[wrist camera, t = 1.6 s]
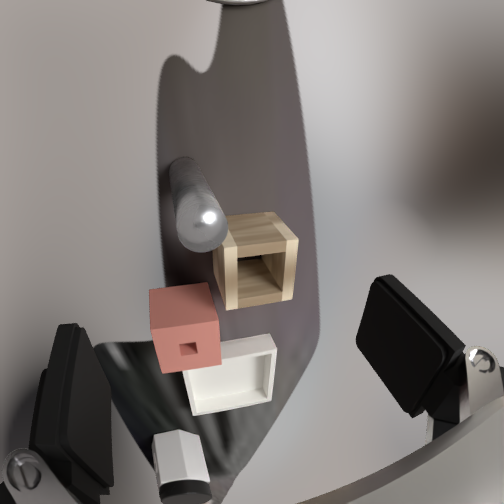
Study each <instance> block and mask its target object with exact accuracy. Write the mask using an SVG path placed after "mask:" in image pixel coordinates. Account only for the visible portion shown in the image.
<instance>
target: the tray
mask: <svg viewBox="0 0 504 504" xmlns="http://www.w3.org/2000/svg"><path fill="white" fill-rule="evenodd" d="M220 346H221V360H222V365H217V366H211V367H205V368H198V369H192V370H185V371H183V376H184V380H185V384H186V389H187V393H188V397H189V401H190V405H191V409H192V413H193V416H195V415H202V414H208V413H214V412H219V411H225V410H230V409H235V408H240V407H245V406H250V405H254V404H259V403H263V402H267V401H271V398H272V390H273V381H274V372H275V363H276V354H277V348H276V346H275V344H274V341H273V339H272V337H271V335H270V333H268V334H263V335H257V336H252V337H246V338H241V339H235V340H229V341H224V342H220Z"/></svg>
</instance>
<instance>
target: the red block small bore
mask: <svg viewBox="0 0 504 504" xmlns="http://www.w3.org/2000/svg"><path fill="white" fill-rule="evenodd" d="M149 303H150V304H149V305H150V330H151V334H152V338H153V342H154V346H155V349H156V353H157V357H158V360H159V364H160V367H161V371H162V373H170V372H178V371H185V370H192V369H198V368H205V367H211V366H217V365H222V360H221V346H220V332H219V320H218V316H217V313H216V310H215V306H214V303H213V300H212V296H211V293H210V289H209V286H208V282H204V283H197V284H189V285H181V286H174V287H166V288H158V289H150V290H149Z"/></svg>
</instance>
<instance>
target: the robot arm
mask: <svg viewBox="0 0 504 504" xmlns="http://www.w3.org/2000/svg"><path fill="white" fill-rule="evenodd" d="M207 1H211V2H215V3H220V4H228V5H250V4H255V3H260V2H265V1H267V0H207ZM356 344H357V347H358V348H359V350H360V351H361V352H362V354H363V355H364V356H365V358H366V359H367V361H368V362H369V363H370V365H371V366H372V368H373V369H374V370H375V372H376V373H377V374H378V376H379V377H380V379H381V380H382V381H383V382H384V384H385V386H386V387H387V388H388V390H389V391H390V393H391V394H392V395H393V397H394V398H395V399H396V401H397V402H398V404H399V405H400V407H401V408H402V409H403V411H404V412H406V413H409V415H410V416H411V417H412V418H414V417H416V416H418V415H419V414H421V413H423V411H424V410H426V411H427V412H428V421H427V432H426V443H425V446H423V447H422V448H420V449H418V450H417V451H415V452H413V453H411V454H410V455H408V456H406V457H404V458H402V459H400V460H399V461H397V462H395V463H393V464H391V465H389V466H387V467H385V468H383V469H381V470H379V471H377V472H375V473H373V474H371V475H369V476H367V477H364V478H362V479H360V480H358V481H355V482H353V483H351V484H348V485H346V486H343V487H341V488H339V489H336V490H333V491H331V492H328V493H326V494H323V495H320V496H318V497H315V498H312V499H309V500H306V501H303V502H300V503H297V504H504V367H500V366H499V363H498V360H497V358H496V357H495V355H494V354H493V353H492V352H491V351H489V350H487V349H486V348H483V347H480V346H474V347H471V348H469V349H468V350H467V352H466V353H465V354H464V353H463V350H464V348H465V346H466V345H464V343H463V342H462V341H461V340H460V339H459V338H458V337H457V336H456V335H455V334H454V333H453V332H452V331H451V330H450V329H449V328H448V327H447V326H446V325H445V324H444V323H443V322H442V321H441V320H440V319H439V318H438V317H437V316H436V315H435V314H434V313H433V312H432V311H430V309H429V308H428V307H426V306H425V305H424V304H423V303H422V302H421V301H420V300H419V299H418V298H417V297H416V296H415V295H414V294H413V293H412V292H411V291H410V290H408V289H407V288H406V287H405V286H404V285H403V284H402V283H401V282H400V281H399V280H398V279H397V278H395V277H394V276H393V275H390V274H389V275H384V276H380V277H377V278H376V279H375V280H374V282H373V283H372V284H371V286H370V291H369V294H368V298H367V302H366V305H365V309H364V312H363V316H362V319H361V323H360V326H359V329H358V333H357V336H356ZM2 476H3V480H4V481H3V482H2V483H1V484H0V504H100V495H109V494H110V493H109V492H110V491H109V487H113V485H114V476H113V462H112V439H111V388H110V384H109V382H108V380H107V378H106V376H105V374H104V372H103V370H102V367H101V365H100V363H99V361H98V359H97V356H96V354H95V352H94V349H93V347H92V345H91V342H90V340H89V338H88V335H87V333H86V330H85V329H84V328H80V327H79V325H78V324H77V323H72V324H60V325H59V326H58V328H57V332H56V336H55V340H54V343H53V347H52V351H51V356H50V360H49V364H48V368H47V369H44V370H43V372H42V374H41V378H40V382H39V387H38V392H37V397H36V402H35V408H34V414H33V420H32V426H31V433H30V441H29V449H25V448H22V449H17V450H15V451H13V452H11V453H10V454H9V455H8V456H7V457H6V459H5V461H4V463H3V468H2Z"/></svg>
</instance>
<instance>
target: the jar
mask: <svg viewBox="0 0 504 504" xmlns="http://www.w3.org/2000/svg"><path fill="white" fill-rule="evenodd" d="M152 452H153V460H154V468H155V473H156V480H157V486H158V490H159V495H160V499H161V502H162V503H163V504H202V503H205V502H207V501H209V500H211V498H212V494H211V490H210V487H209V482H210V478H209V475H208V471H207V467H206V463H205V459H204V455H203V450H202V446H201V442H200V437H199V435H196V434H192V433H189V432H186V431H183V430H180V429H177V430H173V431H168V432H164V433H159V434H155V435H154V437H153V442H152Z"/></svg>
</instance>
